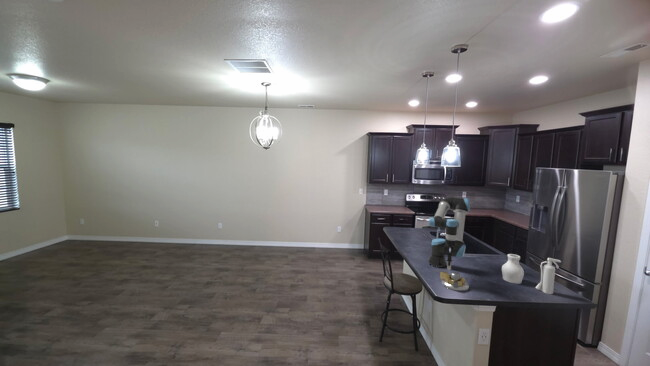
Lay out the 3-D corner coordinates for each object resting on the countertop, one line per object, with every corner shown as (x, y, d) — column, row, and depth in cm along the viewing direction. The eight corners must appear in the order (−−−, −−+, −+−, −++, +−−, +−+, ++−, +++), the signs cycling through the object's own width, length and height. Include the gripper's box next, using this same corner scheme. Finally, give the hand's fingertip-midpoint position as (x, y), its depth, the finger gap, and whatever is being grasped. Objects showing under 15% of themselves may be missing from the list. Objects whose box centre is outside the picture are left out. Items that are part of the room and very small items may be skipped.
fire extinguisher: (533, 287, 190) (537, 255, 187) (554, 291, 184) (559, 258, 182) (536, 291, 183) (540, 258, 181) (557, 296, 178) (563, 261, 176)
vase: (496, 277, 205) (498, 253, 204) (508, 275, 211) (509, 251, 209) (516, 285, 192) (518, 259, 190) (527, 282, 198) (529, 257, 196)
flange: (437, 284, 190) (438, 272, 190) (447, 277, 202) (448, 266, 202) (462, 294, 177) (463, 281, 176) (472, 286, 189) (473, 274, 188)
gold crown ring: (437, 279, 193) (437, 273, 193) (444, 275, 201) (444, 269, 201) (460, 288, 181) (460, 281, 180) (467, 283, 189) (467, 276, 189)
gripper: (446, 236, 204) (444, 265, 206) (444, 240, 193) (443, 271, 194) (456, 238, 201) (454, 267, 202) (456, 242, 189) (454, 273, 191)
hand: (448, 269), depth 198 cm, fingers closed
